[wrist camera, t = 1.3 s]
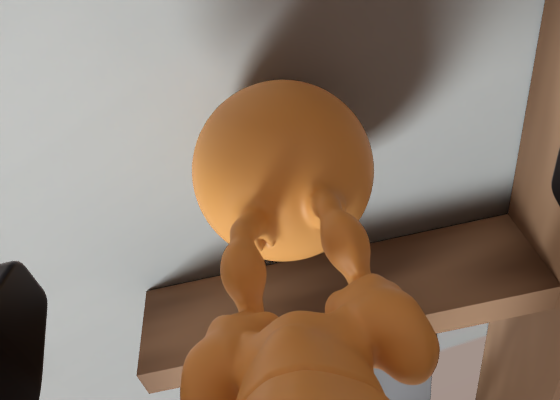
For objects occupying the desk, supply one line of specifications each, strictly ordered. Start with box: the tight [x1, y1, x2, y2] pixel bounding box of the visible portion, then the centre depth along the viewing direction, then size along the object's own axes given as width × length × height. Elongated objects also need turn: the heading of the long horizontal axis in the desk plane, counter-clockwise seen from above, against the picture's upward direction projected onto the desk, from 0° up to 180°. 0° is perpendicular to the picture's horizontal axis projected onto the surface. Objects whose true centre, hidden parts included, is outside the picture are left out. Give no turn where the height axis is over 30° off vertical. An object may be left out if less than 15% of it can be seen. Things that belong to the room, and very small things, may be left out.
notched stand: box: [137, 0, 560, 400], centre depth 14 cm, size 13×27×4 cm, turn 10°
